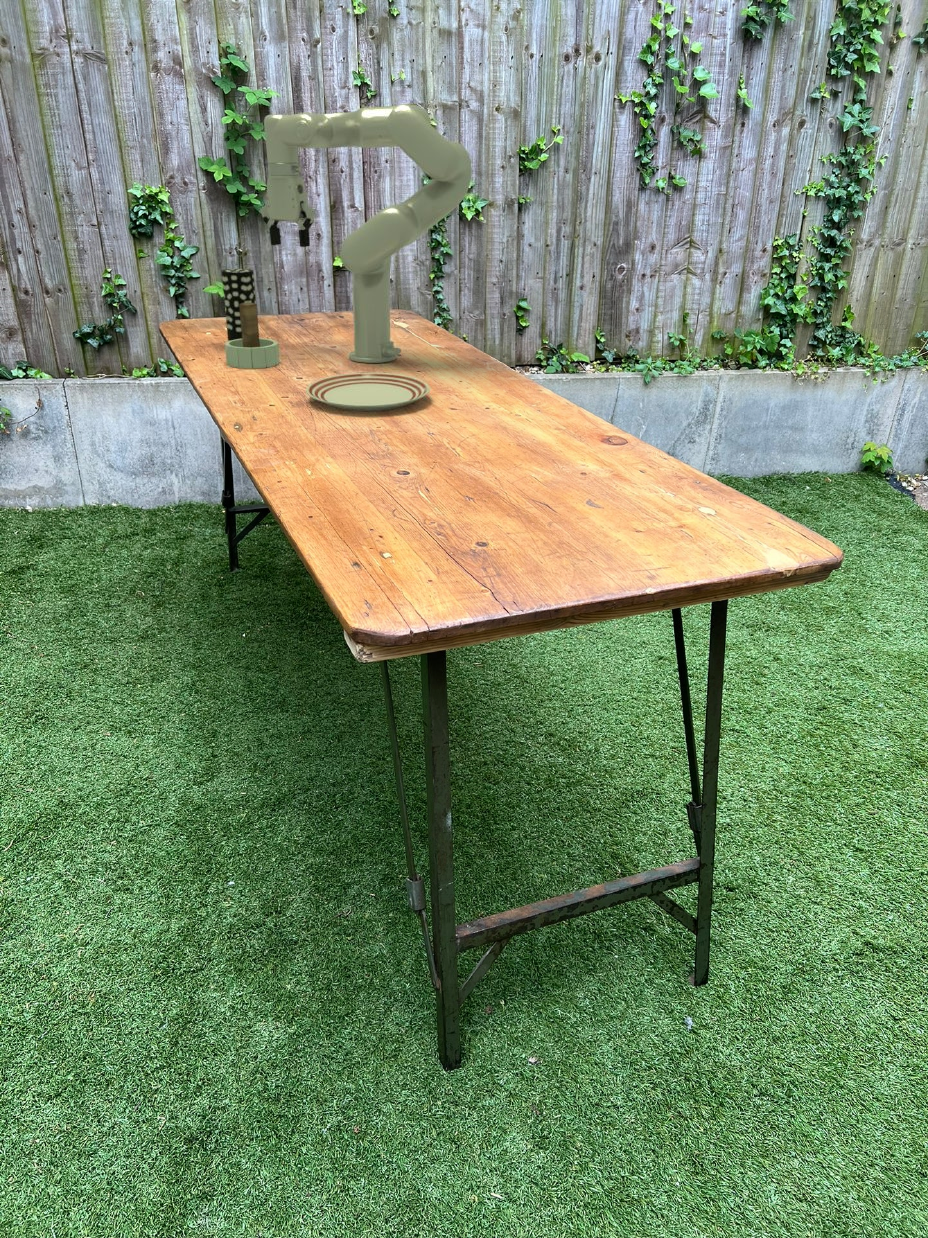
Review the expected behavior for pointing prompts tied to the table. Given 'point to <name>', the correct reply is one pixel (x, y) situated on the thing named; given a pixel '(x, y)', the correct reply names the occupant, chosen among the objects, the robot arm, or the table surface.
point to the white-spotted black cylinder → (236, 297)
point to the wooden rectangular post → (249, 325)
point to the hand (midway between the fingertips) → (290, 245)
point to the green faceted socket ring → (252, 354)
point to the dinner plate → (368, 391)
